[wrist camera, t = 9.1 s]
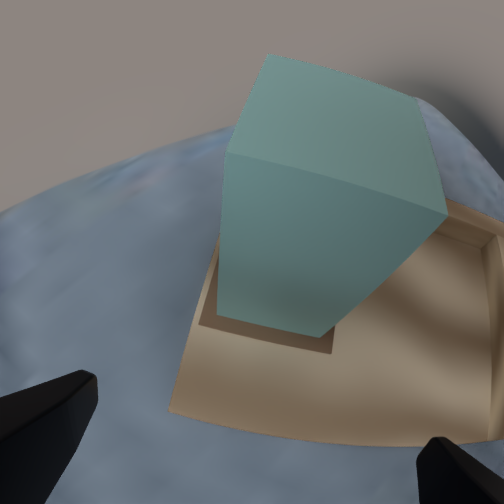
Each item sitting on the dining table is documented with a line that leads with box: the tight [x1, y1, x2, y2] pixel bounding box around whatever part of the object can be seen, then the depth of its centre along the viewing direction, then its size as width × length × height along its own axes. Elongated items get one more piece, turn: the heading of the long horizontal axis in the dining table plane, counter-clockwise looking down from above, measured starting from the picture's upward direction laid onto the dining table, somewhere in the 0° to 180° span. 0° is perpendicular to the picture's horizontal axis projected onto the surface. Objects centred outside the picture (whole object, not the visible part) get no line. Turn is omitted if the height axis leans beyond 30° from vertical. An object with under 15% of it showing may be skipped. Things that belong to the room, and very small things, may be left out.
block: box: [217, 54, 448, 338], centre depth 12 cm, size 5×5×10 cm
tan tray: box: [168, 198, 504, 447], centre depth 15 cm, size 15×20×2 cm
